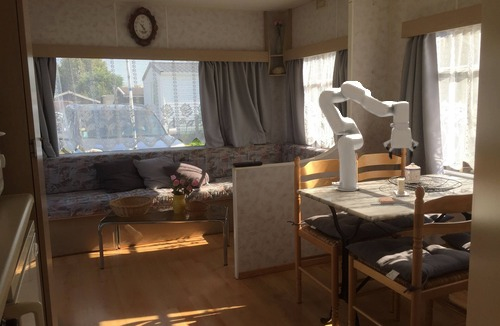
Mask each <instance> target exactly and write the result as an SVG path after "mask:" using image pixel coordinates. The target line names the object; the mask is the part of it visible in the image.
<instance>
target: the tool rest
mask: <svg viewBox="0 0 500 326" xmlns="http://www.w3.org/2000/svg"><path fill="white" fill-rule="evenodd" d="M405 191H406V190H405ZM406 192H407V193H408V194H409V196H396V195H395V193H394V192H393V191H389V193H390V195H391V197H393V198H414V195H413V194H412V193H410V191H406Z"/></svg>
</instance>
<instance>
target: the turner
mask: <svg viewBox="0 0 500 326" xmlns="http://www.w3.org/2000/svg"><path fill="white" fill-rule="evenodd" d="M405 183H406V182H405V178H397V190H393V191H392V192H394V193H395V195H396V196H409V194H408V193H407V192H406V190H405V188H406V187H405Z"/></svg>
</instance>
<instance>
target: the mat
mask: <svg viewBox="0 0 500 326" xmlns="http://www.w3.org/2000/svg"><path fill="white" fill-rule="evenodd" d="M370 206H371V207H377V206H378V207H381V206H382V207H383V206H389V207H391V206H395V207H396V206H397V207H398V206H404V207H405V206H406V204H405V203H394V204H381V203H370Z"/></svg>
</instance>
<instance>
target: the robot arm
mask: <svg viewBox="0 0 500 326" xmlns="http://www.w3.org/2000/svg"><path fill="white" fill-rule="evenodd" d="M371 94H372V93H371V91H370V90H369V89H366V88H365V87H363V85H362V84H361V83H360V82H358V81H357V80H355V81H354V80H353V81H351V80H349V81H344V82H343V83H342V84H341V85H340V87H331V88H330V87H329V88H326V89H323V90H322V91H321V93H320V94H319V97H318V105H319V109H320V110H321V112H322V114H323V115H324V118H325V120H326V121H327V123H328V125H329V127H330V129H331V130H332V132H333V133H334V135H338V136H340V135H342V136H340V137H339V139H338V140H337V150H338V156H339V157H338V159H339V181H337V182H331V186H332V187H337V190H338V191H341V192H355V191H359V190H360V188H361V187H360V186H358V183H357V182H358V177H357V175H358V174H357V170H358V168H357V155H356V152H355V151H356V150H359V149H361V148H362V147H363V145H364V138H363V135H362V133H361V131H360V129H359V128H358V126H357V124H356V122H355V121H354V120H353V119H352V118H350V117H344V116H342V114H341V112H340V110H339V108H338V107H336V105H335V103H336V104H337V103H338V104H339V103H343V102H346V101H348V100H352V101H353V102H355V103H357V104H359V105H361V107H362V108H363V109H364V110H366V111H368V112H369V113H370V114H373V115H375V116H377V117H380V118H382V117H383V118H384V117H392V116H393V119H392V120H393V123H390V126H389V127H391V128H392V129H391V132H390V139H389V140H387V141H385V142H383V146H384V148H385V149H386V150H387V151H388V158H389V159H390V160H392V159H393V150H394V149H409V150H408V158H409V159H410V160H412V158H414V154H413V153H414V151H415V150H416V149H417V147H418V146H419V142H418V141H417V140H414V139H413V138H412V130H411V128H410V104H409V102H407V101H398V102H397V101H381V100H378V99H377V98H374V97H373V96H372V95H371ZM389 144H390V146H389V147H388V145H389ZM412 144H414V145H413V146H412Z"/></svg>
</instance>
